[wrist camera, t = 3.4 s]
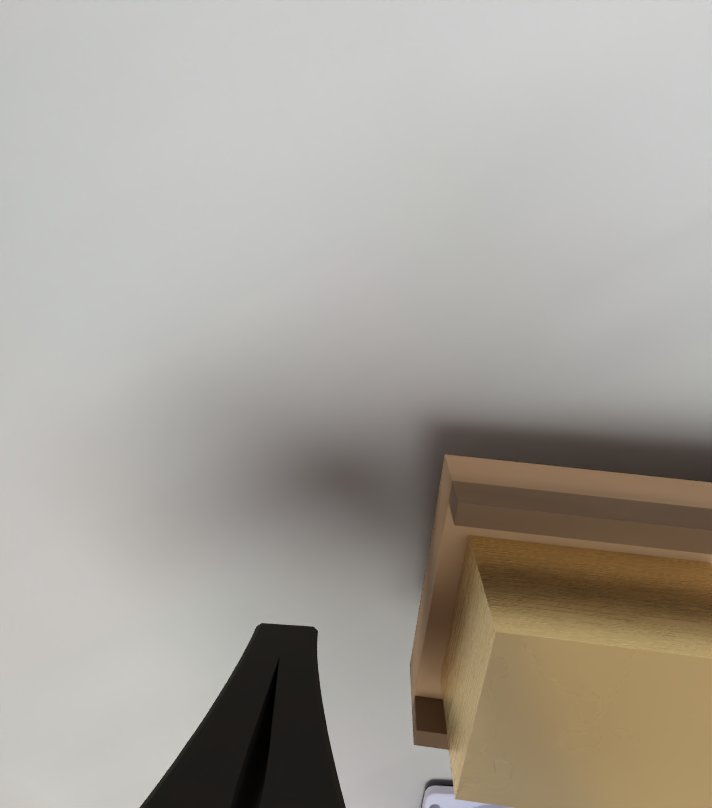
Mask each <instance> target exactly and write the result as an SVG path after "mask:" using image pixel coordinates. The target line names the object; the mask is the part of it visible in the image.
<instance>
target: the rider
mask: <svg viewBox="0 0 712 808" xmlns="http://www.w3.org/2000/svg"><path fill="white" fill-rule="evenodd" d="M440 679H441V688H442V696H443V704H444V712H445V721H446V729H447V737H448V745H449V754H450V762H451V770H452V778H453V787H454V795H455V799H457V800H464V801H471V802H478V803H485V804H492V805H499V806H506V807H513V808H712V565H711V564H710V563H709V562H702V561H693V560H684V559H676V558H667V557H658V556H649V555H641V554H632V553H623V552H614V551H606V550H597V549H588V548H579V547H571V546H562V545H553V544H544V543H536V542H527V541H518V540H509V539H500V538H492V537H483V536H474V535H468V539H467V544H466V549H465V555H464V560H463V565H462V570H461V575H460V580H459V585H458V590H457V595H456V600H455V605H454V610H453V615H452V620H451V625H450V630H449V635H448V640H447V645H446V650H445V655H444V660H443V665H442V670H441V675H440Z"/></svg>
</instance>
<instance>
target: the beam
mask: <svg viewBox="0 0 712 808" xmlns="http://www.w3.org/2000/svg"><path fill="white" fill-rule="evenodd" d="M468 535H474V536H483V537H492V538H500V539H509V540H518V541H527V542H536V543H544V544H553V545H562V546H571V547H579V548H588V549H597V550H606V551H614V552H623V553H632V554H641V555H649V556H658V557H667V558H676V559H684V560H693V561H702V562H709V563H710V564H711V565H712V483H711V482H702V481H692V480H683V479H673V478H664V477H654V476H645V475H636V474H626V473H617V472H607V471H598V470H588V469H579V468H569V467H560V466H550V465H541V464H531V463H522V462H513V461H503V460H494V459H484V458H475V457H465V456H456V455H446V454H445V456H444V462H443V468H442V474H441V480H440V486H439V492H438V498H437V504H436V511H435V517H434V523H433V529H432V535H431V541H430V547H429V553H428V559H427V565H426V571H425V577H424V583H423V589H422V595H421V601H420V608H419V614H418V620H417V626H416V632H415V638H414V644H413V650H412V656H411V662H410V676H411V697H412V717H413V737H414V745H419V746H426V747H434V748H441V749H448V750H449V745H448V737H447V729H446V721H445V712H444V704H443V696H442V688H441V679H440V675H441V670H442V665H443V660H444V655H445V650H446V645H447V640H448V635H449V630H450V625H451V620H452V615H453V610H454V605H455V600H456V595H457V590H458V585H459V580H460V575H461V570H462V565H463V560H464V555H465V549H466V544H467V539H468Z"/></svg>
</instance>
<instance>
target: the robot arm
mask: <svg viewBox="0 0 712 808" xmlns="http://www.w3.org/2000/svg"><path fill="white" fill-rule="evenodd" d="M317 636H318V631H317V630H316V629H315V628H314V627H310V626H295V625H280V624H265V623H261V624H260V625H258V626H257V627H256V629H255V631H254V633H253V636H252V638H251V640H250V642H249V644H248V646H247V648H246V649H245V651H244V653H243V655H242V657H241V659H240V660H239V662H238V664H237V666H236V667H235V669H234V671H233V673H232V674H231V676H230V678H229V679H228V681H227V683H226V684H225V686H224V688H223V689H222V691H221V692H220V694H219V696H218V697H217V699H216V700H215V702H214V703H213V705H212V707H211V708H210V710H209V711H208V713H207V715H206V716H205V718H204V719H203V721H202V722H201V724H200V725H199V727H198V728H197V729H196V731H195V732H194V734H193V735H192V737H191V738H190V740H189V741H188V742H187V744H186V745H185V747H184V748H183V750H182V751H181V752H180V754H179V755H178V757H177V758H176V760H175V761H174V763H173V764H172V765H171V767H170V768H169V769H168V771H167V772H166V773H165V775H164V776H163V778H162V779H161V780H160V782H159V783H158V784H157V786H156V787H155V788H154V790H153V791H152V792H151V793H150V795H149V796H148V797H147V799H146V800H145V801H144V803H143V804H142V805H141V806H140V808H346V807H345V803H344V799H343V796H342V792H341V788H340V784H339V780H338V776H337V772H336V767H335V763H334V759H333V754H332V750H331V745H330V741H329V736H328V731H327V725H326V720H325V714H324V708H323V703H322V696H321V690H320V681H319V672H318V661H317ZM422 808H513V807H506V806H499V805H492V804H485V803H478V802H471V801H464V800H457V799H455V795H454V787H453V786H438V785H435V786H430V787H428V788H427V789H426V791H425V794H424V799H423V804H422Z"/></svg>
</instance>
